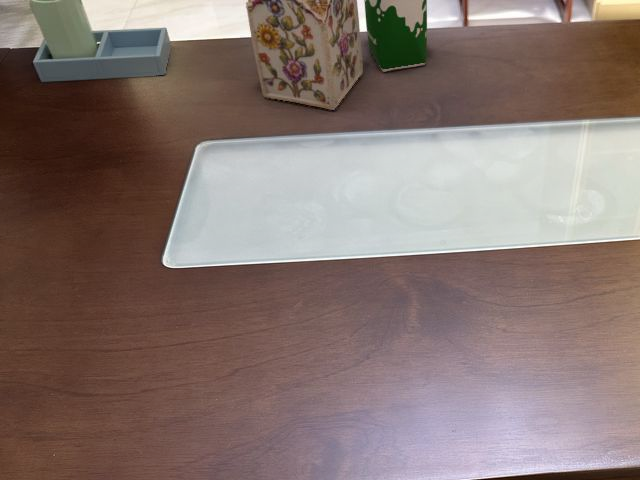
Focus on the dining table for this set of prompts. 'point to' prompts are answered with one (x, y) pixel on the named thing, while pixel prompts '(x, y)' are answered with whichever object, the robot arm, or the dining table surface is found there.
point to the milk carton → (397, 31)
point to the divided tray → (111, 57)
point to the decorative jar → (306, 49)
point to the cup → (65, 28)
